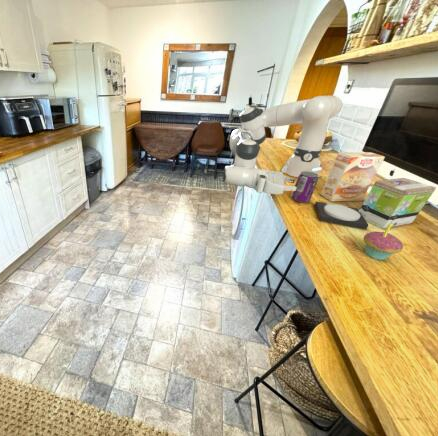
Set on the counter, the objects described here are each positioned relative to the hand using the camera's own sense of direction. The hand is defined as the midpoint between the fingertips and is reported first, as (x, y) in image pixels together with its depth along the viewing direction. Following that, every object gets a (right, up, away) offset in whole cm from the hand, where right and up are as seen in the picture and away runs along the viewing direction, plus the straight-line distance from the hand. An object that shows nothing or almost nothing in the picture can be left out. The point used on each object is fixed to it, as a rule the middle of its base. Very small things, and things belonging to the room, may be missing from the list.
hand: (295, 184), depth 101 cm
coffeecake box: (+23, -5, +5) cm, 24 cm away
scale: (+10, -14, -10) cm, 20 cm away
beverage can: (+3, -7, +2) cm, 8 cm away
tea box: (+26, -15, -11) cm, 32 cm away
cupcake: (+5, -25, -30) cm, 40 cm away
